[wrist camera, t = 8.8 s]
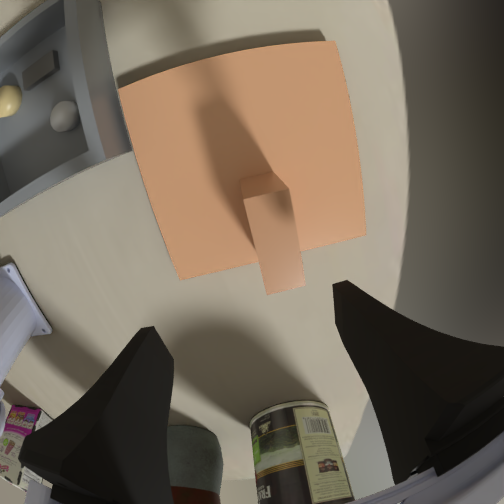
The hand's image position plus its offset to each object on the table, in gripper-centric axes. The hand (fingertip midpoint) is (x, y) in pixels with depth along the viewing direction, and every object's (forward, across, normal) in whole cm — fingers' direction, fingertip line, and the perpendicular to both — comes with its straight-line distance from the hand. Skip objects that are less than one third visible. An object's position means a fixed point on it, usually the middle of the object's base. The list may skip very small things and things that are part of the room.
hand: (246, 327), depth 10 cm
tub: (+9, +11, -14) cm, 19 cm away
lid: (+9, -2, -5) cm, 11 cm away
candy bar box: (+9, +44, +22) cm, 50 cm away
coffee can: (+9, 0, +26) cm, 27 cm away
